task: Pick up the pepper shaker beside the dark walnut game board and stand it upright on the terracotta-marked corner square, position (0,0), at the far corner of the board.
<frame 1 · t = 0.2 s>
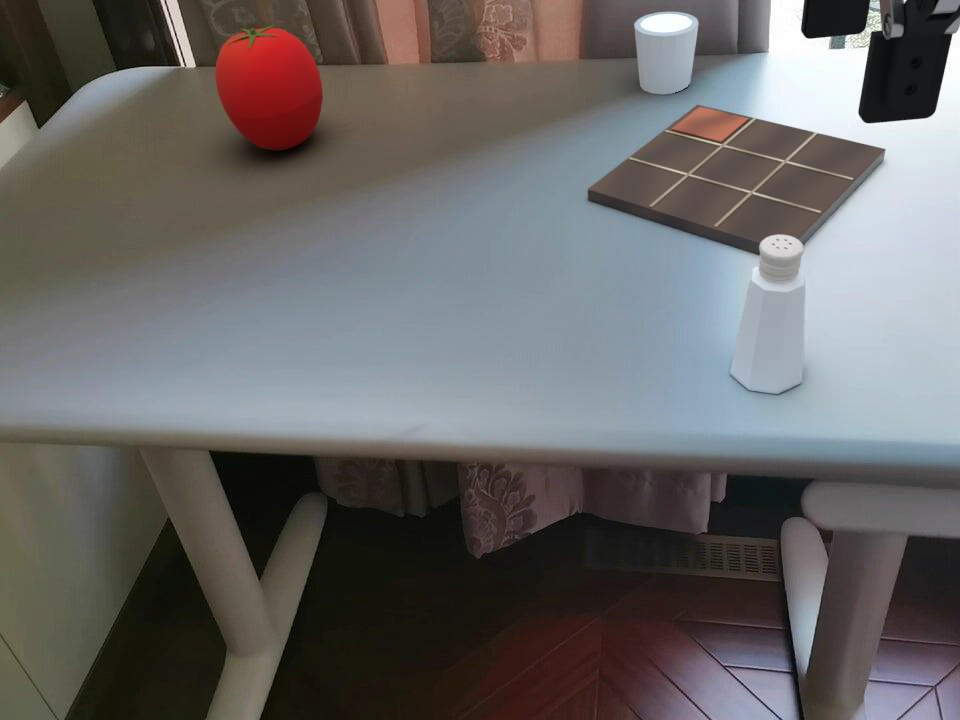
hand: (861, 72, 46), 27 cm above the table, tool pointing down, fingers open, 9 cm apart
pepper shaker: (766, 372, 70), on the table
board: (735, 180, 91), on the table
tomato: (284, 144, 106), on the table
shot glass: (664, 85, 108), on the table
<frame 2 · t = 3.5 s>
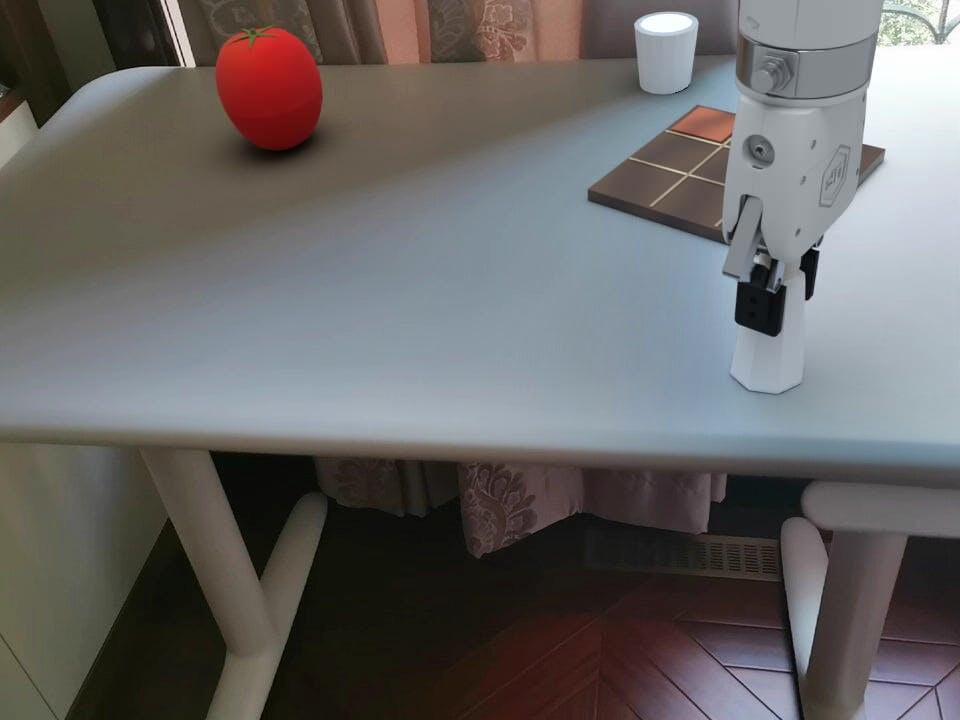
hand: (773, 308, 66), 6 cm above the table, tool pointing down, fingers closed on pepper shaker, 4 cm apart
pepper shaker: (766, 372, 70), on the table, touching gripper
everything else where it was.
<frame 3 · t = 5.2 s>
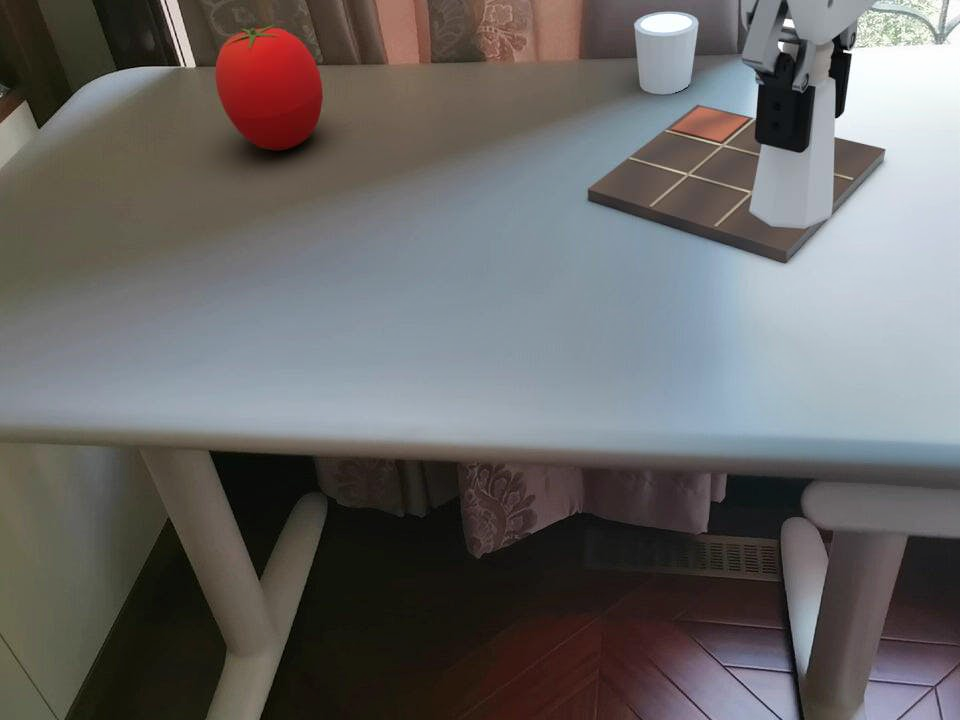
hand: (799, 126, 58), 19 cm above the table, tool pointing down, fingers closed on pepper shaker, 4 cm apart
pepper shaker: (790, 209, 62), point 13 cm above the table, touching gripper
everything else where it was.
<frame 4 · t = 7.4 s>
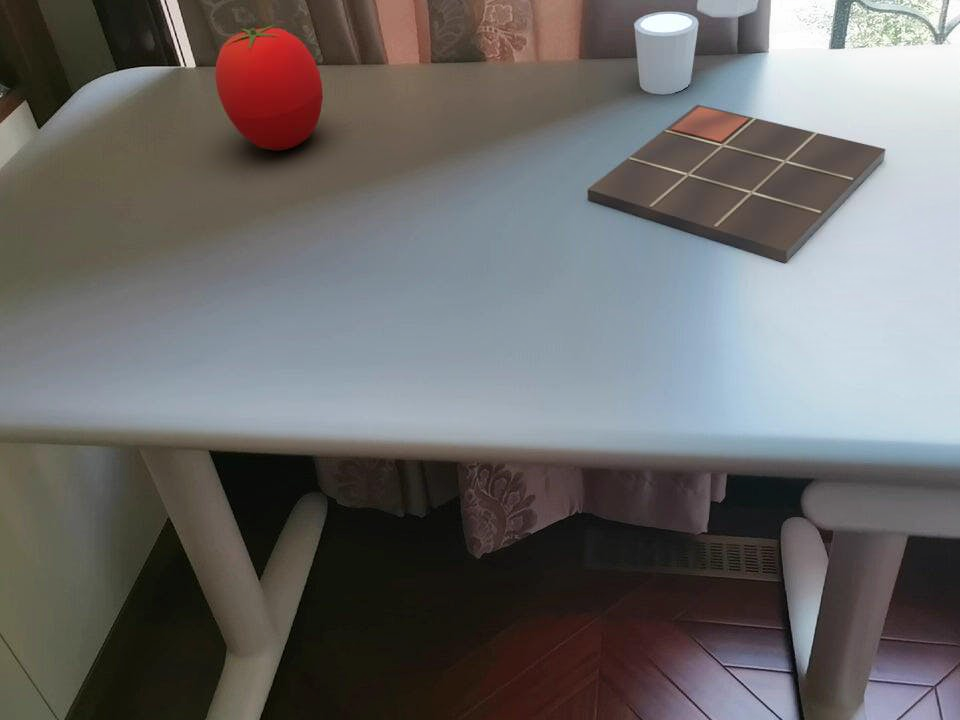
pepper shaker: (727, 9, 83), point 15 cm above the table, touching gripper
everything else where it was.
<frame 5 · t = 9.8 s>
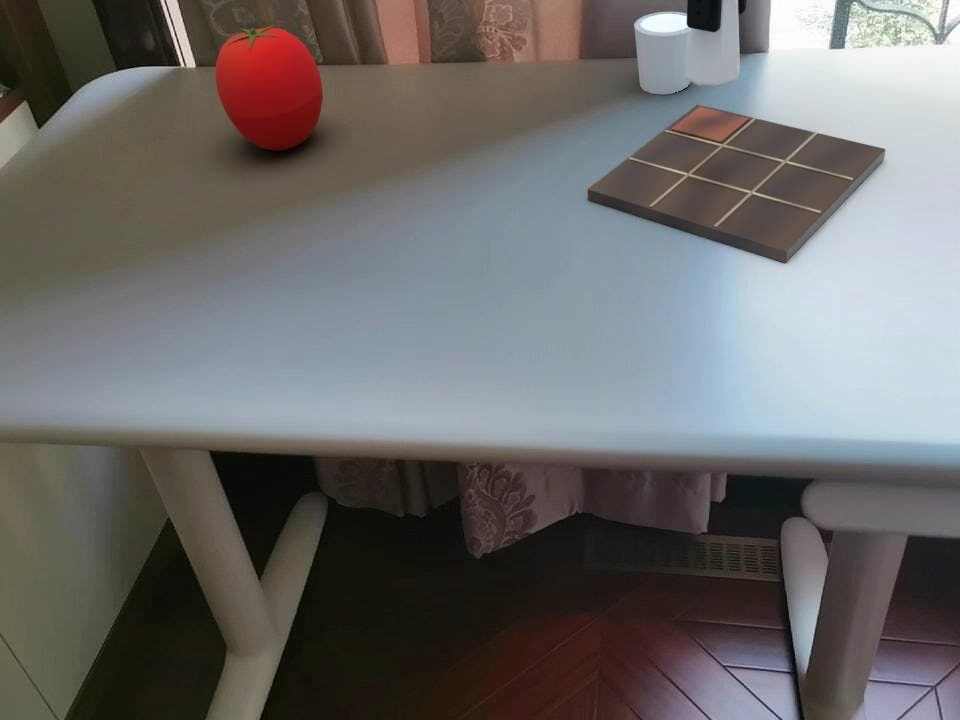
hand: (716, 18, 90), 12 cm above the table, tool pointing down, fingers closed on pepper shaker, 4 cm apart
pepper shaker: (712, 77, 94), point 6 cm above the table, touching gripper
everything else where it was.
when the fingers open (7 cm above the table, at t = 11.3 s): pepper shaker stays where it is, resting on board.
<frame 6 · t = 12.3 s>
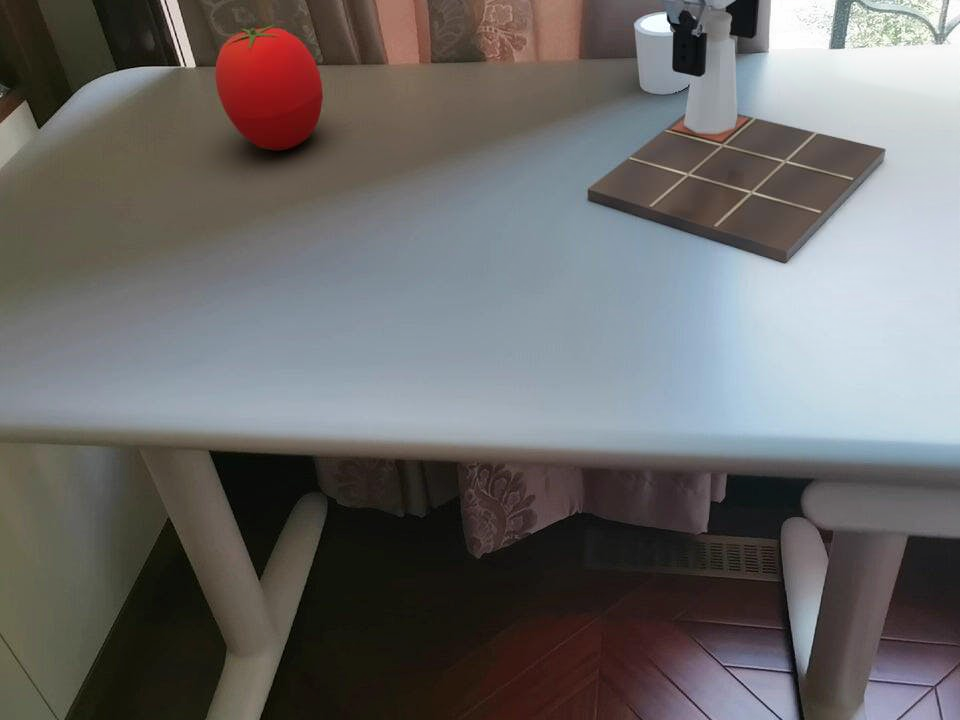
hand: (715, 53, 92), 9 cm above the table, tool pointing down, fingers open, 9 cm apart
pepper shaker: (710, 125, 97), point 1 cm above the table, touching board
everything else where it was.
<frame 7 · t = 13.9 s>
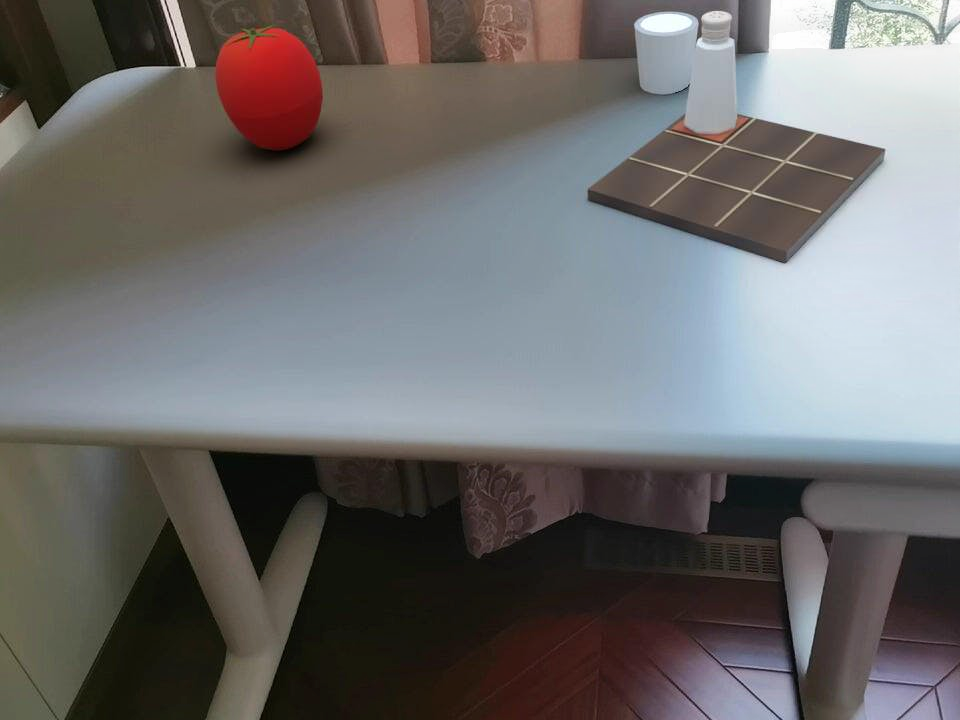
nothing on the table moved.
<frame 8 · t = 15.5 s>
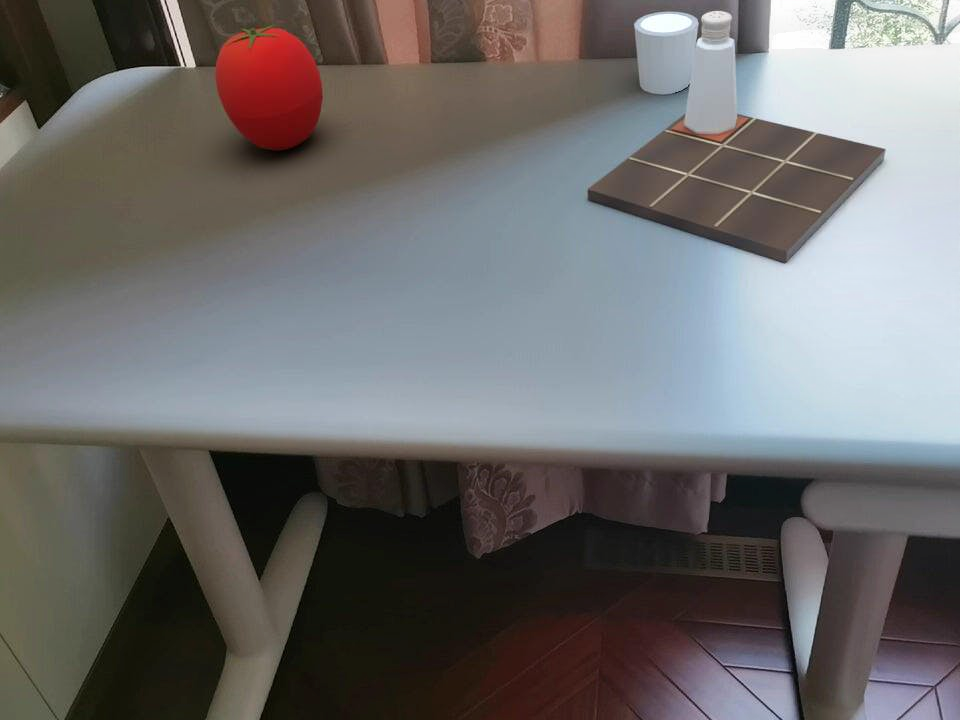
nothing on the table moved.
at the end: pepper shaker 0.0 cm from the target spot on the board, point 1.2 cm above the board's base; pepper shaker tilted 0°; the gripper is holding nothing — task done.
